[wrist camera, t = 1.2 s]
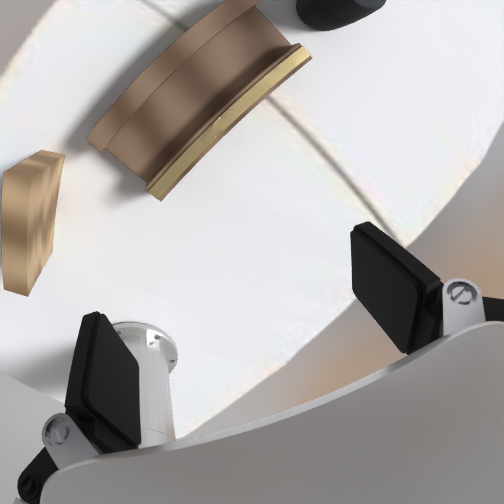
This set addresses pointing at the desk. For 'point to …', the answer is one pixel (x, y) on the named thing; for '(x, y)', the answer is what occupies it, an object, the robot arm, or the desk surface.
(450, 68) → the desk surface
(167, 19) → the desk surface
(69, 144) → the desk surface
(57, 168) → the wooden picture frame
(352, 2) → the mallet
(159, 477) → the robot arm
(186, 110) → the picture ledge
